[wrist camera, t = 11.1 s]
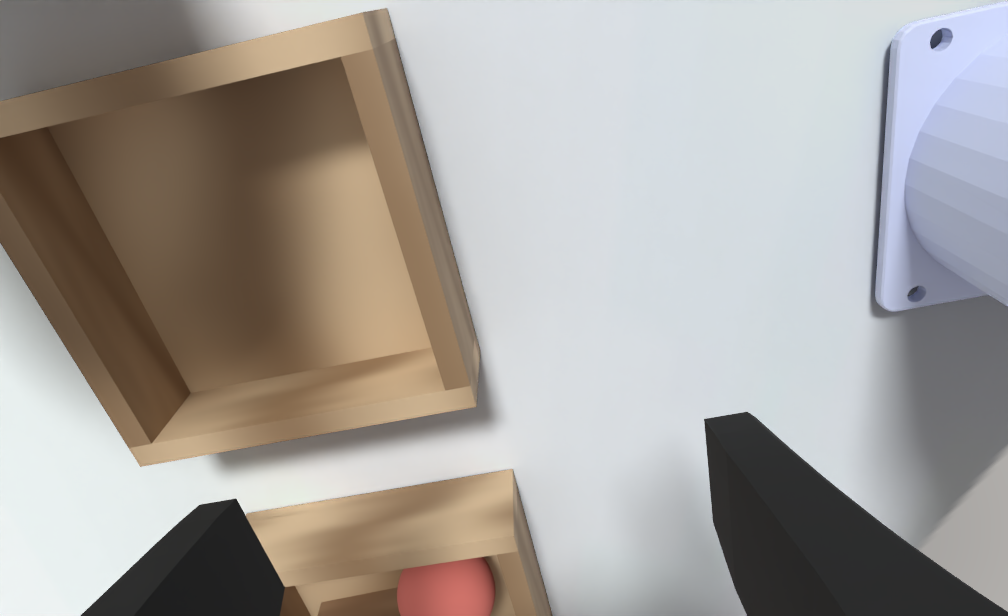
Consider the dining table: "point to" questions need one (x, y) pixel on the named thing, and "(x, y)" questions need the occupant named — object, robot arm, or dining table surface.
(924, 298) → the robot arm
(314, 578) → the box with ball
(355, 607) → the walnut block
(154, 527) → the dining table surface
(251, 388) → the box empty
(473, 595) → the red ball
